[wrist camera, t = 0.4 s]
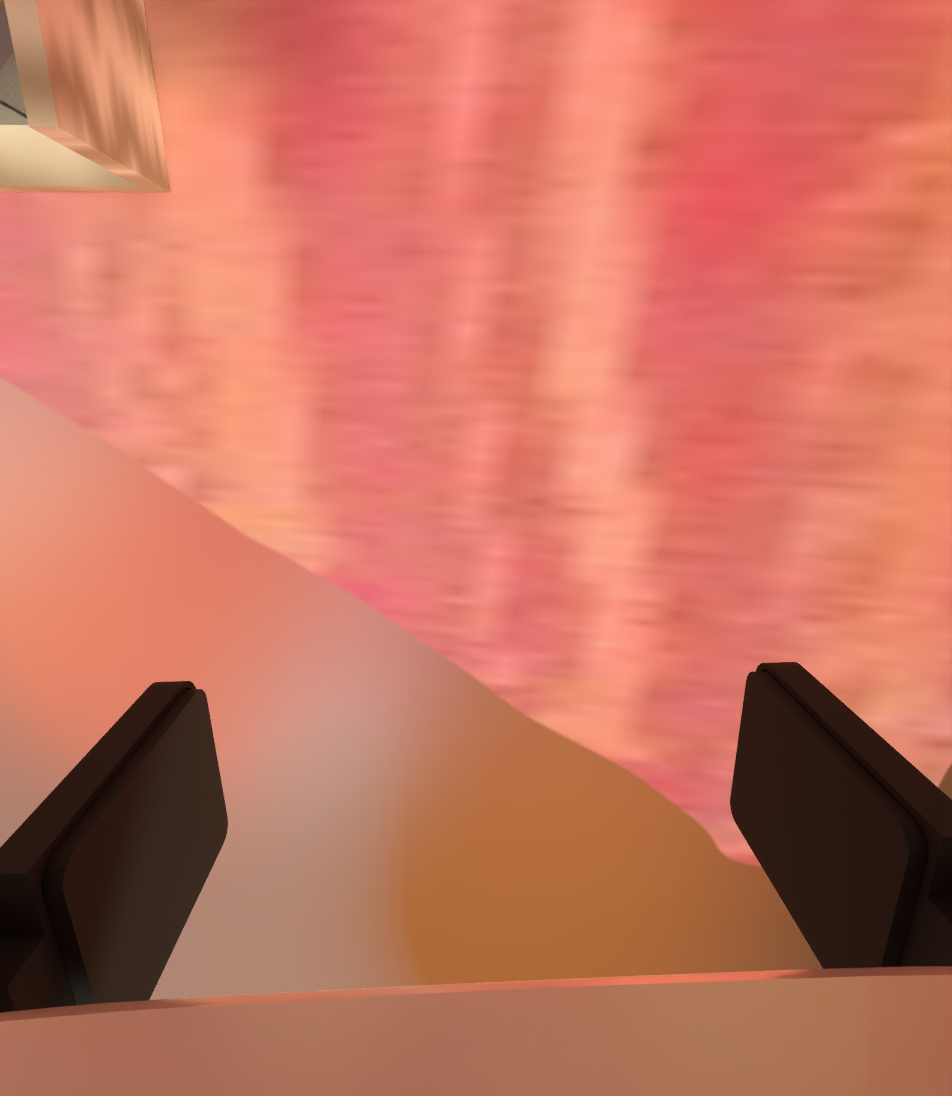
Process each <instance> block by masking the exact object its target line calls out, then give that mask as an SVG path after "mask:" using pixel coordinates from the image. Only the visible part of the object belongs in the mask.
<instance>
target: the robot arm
mask: <svg viewBox="0 0 952 1096" xmlns="http://www.w3.org/2000/svg"><path fill="white" fill-rule="evenodd" d="M730 805H731V811H732V815H733V818H734V820H735V822H736V824H737V826H738V828H739V829H740V831H741V833H742V834H743V836H744V838H745V839H746V841H747V843H748V844H749V846H750V848H751V849H752V851H753V853H754V854H755V856H756V858H757V859H758V861H759V863H760V864H761V866H762V868H763V869H764V871H765V873H766V874H767V876H768V877H769V879H770V881H771V882H772V884H773V886H774V887H775V889H776V891H777V892H778V894H779V896H780V897H781V899H782V901H783V902H784V904H785V906H786V907H787V909H788V911H789V912H790V914H791V916H792V917H793V919H794V921H795V922H796V924H797V925H798V927H799V929H800V931H801V932H802V934H803V936H804V937H805V939H806V941H807V942H808V944H809V945H810V947H811V949H812V951H813V952H814V954H815V955H816V957H817V959H818V960H819V962H820V964H821V966H822V967H823V969H804V970H803V969H802V970H778V971H752V972H726V973H701V974H677V975H650V976H626V977H625V976H624V977H602V978H579V979H557V980H534V981H512V982H490V983H469V984H448V985H427V986H406V987H385V988H365V989H345V990H326V991H307V992H288V993H270V994H269V993H268V994H249V995H231V996H212V997H211V996H210V997H193V998H192V997H191V998H176V999H162V1000H149V999H150V997H151V995H152V993H153V991H154V988H155V986H156V985H157V982H158V980H159V978H160V976H161V974H162V971H163V970H164V968H165V966H166V963H167V961H168V959H169V957H170V955H171V953H172V951H173V949H174V946H175V944H176V942H177V940H178V938H179V936H180V934H181V932H182V930H183V928H184V925H185V923H186V921H187V919H188V917H189V915H190V913H191V911H192V908H193V906H194V904H195V902H196V900H197V898H198V896H199V894H200V892H201V890H202V887H203V885H204V883H205V881H206V879H207V877H208V875H209V873H210V871H211V869H212V867H213V864H214V862H215V860H216V858H217V856H218V854H219V852H220V850H221V847H222V845H223V843H224V840H225V838H226V834H227V827H228V819H227V812H226V806H225V800H224V796H223V790H222V784H221V777H220V772H219V766H218V760H217V755H216V749H215V743H214V738H213V732H212V726H211V720H210V714H209V709H208V703H207V698H206V694H205V692H204V691H203V690H202V689H196V687H195V686H194V684H193V683H192V682H190V681H179V682H155V683H153V684H152V685H150V686H149V687H148V688H147V690H146V691H145V692H144V693H143V694H142V695H141V696H140V697H139V698H138V699H137V700H136V701H135V703H134V704H133V705H132V706H131V707H130V708H129V709H128V710H127V711H126V712H125V713H124V714H123V716H122V717H121V718H120V719H119V720H118V721H117V722H116V723H115V724H114V725H113V726H112V728H110V730H109V731H108V732H107V733H106V734H105V735H104V736H103V737H102V738H101V739H100V740H99V742H98V743H97V744H96V745H95V746H94V747H93V748H92V749H91V750H90V751H89V752H88V753H87V754H86V756H85V757H84V758H83V759H82V760H81V761H80V762H79V763H78V764H77V765H76V766H75V767H74V769H73V770H72V771H71V772H70V773H69V774H68V775H67V776H66V777H65V778H64V779H63V780H62V781H61V783H60V784H59V785H58V786H57V787H56V788H55V789H54V790H53V791H52V792H51V793H50V794H49V796H48V797H47V798H46V799H45V800H44V801H43V802H42V803H41V804H40V805H39V806H38V808H37V809H36V810H35V811H34V812H33V813H32V814H31V815H30V816H29V817H28V818H27V819H26V820H25V822H24V823H23V824H22V825H21V826H20V827H19V828H18V829H17V830H16V831H15V832H14V833H13V834H12V836H11V837H10V838H9V839H8V840H7V841H6V842H5V843H4V844H3V845H2V846H1V848H0V1096H952V800H951V799H950V798H949V797H948V796H947V795H946V794H944V793H943V792H942V791H941V790H940V789H939V788H938V787H937V786H935V785H934V784H933V783H932V782H931V781H930V780H929V779H928V778H926V777H925V776H924V775H923V774H922V773H921V772H920V771H919V770H918V769H916V768H915V767H914V766H913V765H912V764H911V763H910V762H909V761H907V760H906V759H905V758H904V757H903V756H902V755H901V754H900V753H898V752H897V751H896V750H895V749H894V748H893V747H892V746H891V745H890V744H888V743H887V742H886V741H885V740H884V739H883V738H882V737H881V736H879V735H878V734H877V733H876V732H875V731H874V730H873V729H872V728H870V727H869V726H868V725H867V724H866V723H865V722H864V721H863V720H862V719H860V718H859V717H858V716H857V715H856V714H855V713H854V712H853V711H851V710H850V709H849V708H848V707H847V706H846V705H845V704H844V703H842V702H841V701H840V700H839V699H838V698H837V697H836V696H835V695H834V694H832V693H831V692H830V691H829V690H828V689H827V688H826V687H825V686H823V685H822V684H821V683H820V682H819V681H818V680H817V679H816V678H814V677H813V676H812V675H811V674H810V673H809V672H808V671H807V670H806V669H804V668H803V667H802V666H801V665H800V664H798V663H796V662H780V663H761V664H760V665H759V666H758V667H757V669H756V672H750V673H749V675H748V676H747V680H746V687H745V694H744V702H743V709H742V716H741V724H740V731H739V738H738V746H737V753H736V761H735V768H734V775H733V783H732V790H731V797H730Z"/></svg>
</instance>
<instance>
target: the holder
mask: <svg viewBox="0 0 952 1096" xmlns="http://www.w3.org/2000/svg"><path fill="white" fill-rule="evenodd" d="M0 192H170V186H169V179H168V172H167V165H166V158H165V150H164V143H163V136H162V129H161V122H160V115H159V108H158V100H157V93H156V86H155V79H154V72H153V65H152V58H151V50H150V43H149V36H148V29H147V22H146V15H145V8H144V1H143V0H0Z"/></svg>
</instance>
